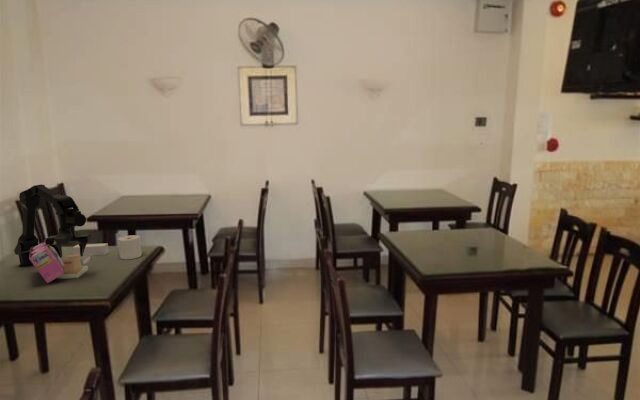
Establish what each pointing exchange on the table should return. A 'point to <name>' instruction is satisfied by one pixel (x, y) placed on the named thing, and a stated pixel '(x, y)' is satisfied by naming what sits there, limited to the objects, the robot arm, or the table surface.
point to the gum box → (46, 261)
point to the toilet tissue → (129, 247)
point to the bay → (91, 251)
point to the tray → (69, 276)
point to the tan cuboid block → (72, 264)
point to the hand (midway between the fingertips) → (71, 257)
